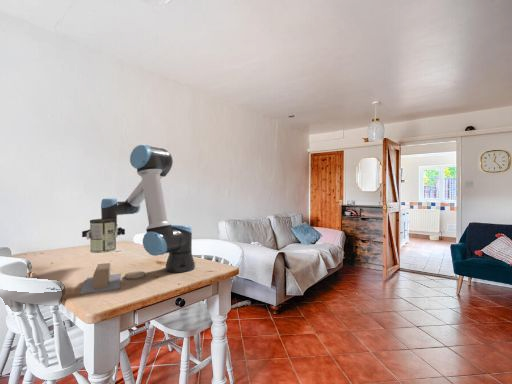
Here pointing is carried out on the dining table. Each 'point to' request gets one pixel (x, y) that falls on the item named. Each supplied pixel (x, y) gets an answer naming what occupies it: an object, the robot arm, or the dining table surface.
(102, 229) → the coffee can
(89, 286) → the fulcrum board
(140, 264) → the dining table surface
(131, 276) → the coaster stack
